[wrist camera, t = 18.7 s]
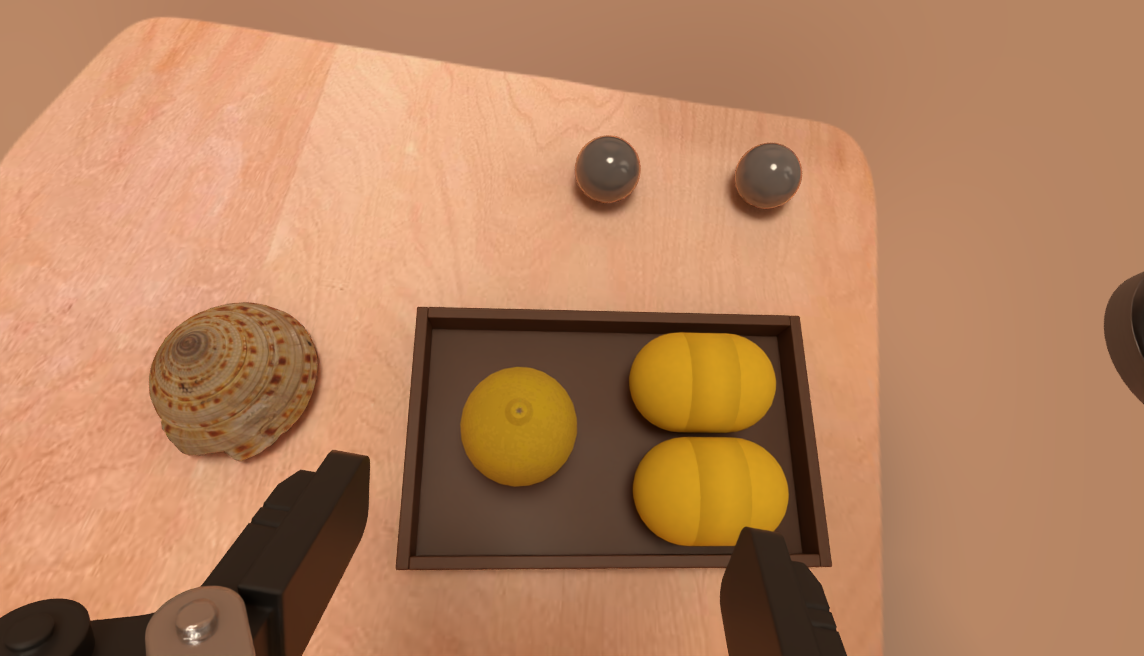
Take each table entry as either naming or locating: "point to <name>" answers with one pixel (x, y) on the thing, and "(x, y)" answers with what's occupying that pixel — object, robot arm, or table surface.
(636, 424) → the tray
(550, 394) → the lemon
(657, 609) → the table surface
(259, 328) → the seashell
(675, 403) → the yellow ribbed oblong body
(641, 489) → the yellow banded capsule
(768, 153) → the glossy gray ball
